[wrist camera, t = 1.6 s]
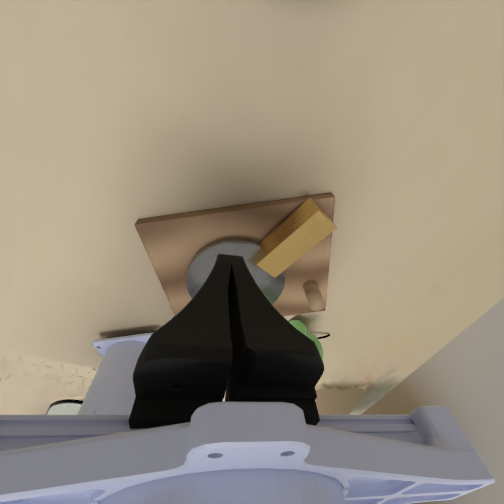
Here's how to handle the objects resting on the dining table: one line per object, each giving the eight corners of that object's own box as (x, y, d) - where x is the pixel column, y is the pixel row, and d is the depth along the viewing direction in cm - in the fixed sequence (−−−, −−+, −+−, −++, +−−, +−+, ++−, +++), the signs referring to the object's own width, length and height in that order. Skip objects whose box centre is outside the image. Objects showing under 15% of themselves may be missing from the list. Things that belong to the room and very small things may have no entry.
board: (322, 304, 31) (333, 330, 28) (183, 323, 31) (177, 351, 28) (331, 192, 22) (348, 211, 19) (138, 219, 23) (122, 242, 19)
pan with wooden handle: (240, 322, 30) (240, 343, 27) (168, 282, 25) (161, 304, 23) (349, 237, 24) (363, 255, 21) (280, 167, 19) (287, 179, 17)
